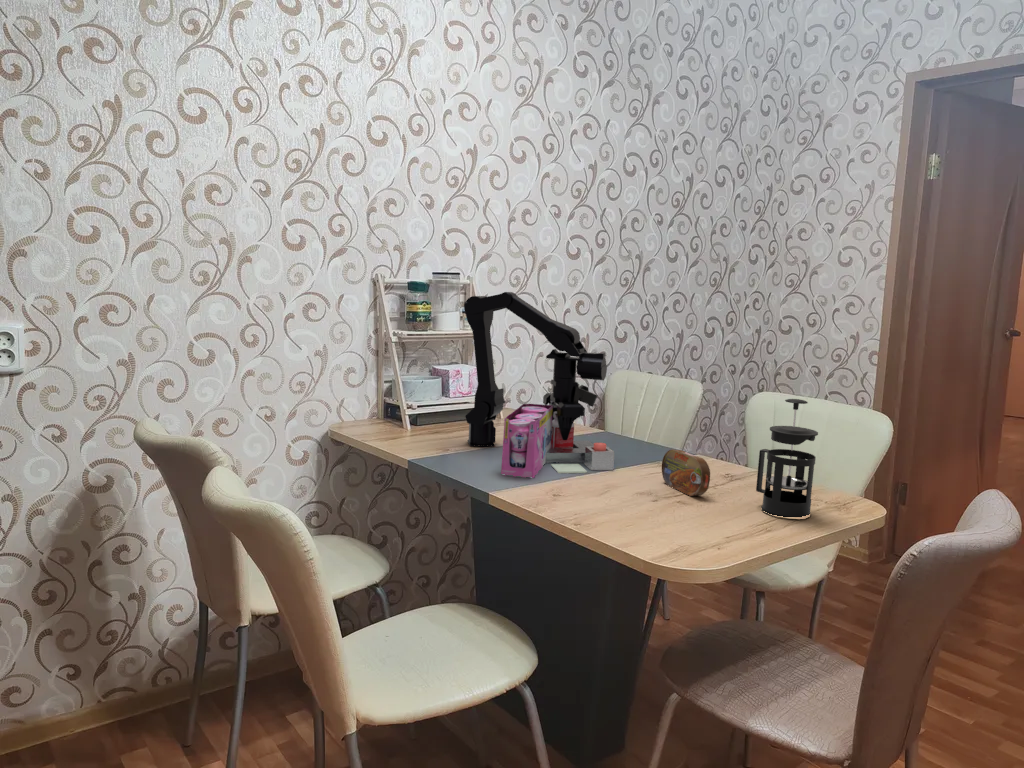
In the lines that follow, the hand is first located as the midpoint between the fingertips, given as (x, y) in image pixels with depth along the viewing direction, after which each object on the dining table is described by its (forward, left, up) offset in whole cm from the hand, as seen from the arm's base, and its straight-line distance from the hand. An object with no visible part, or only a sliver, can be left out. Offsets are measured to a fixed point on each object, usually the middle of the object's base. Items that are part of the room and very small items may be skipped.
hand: (561, 437), depth 184 cm
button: (+6, -13, -2) cm, 14 cm away
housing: (+6, -13, -4) cm, 15 cm away
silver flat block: (+1, -2, -4) cm, 5 cm away
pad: (-2, -14, -4) cm, 15 cm away
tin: (+19, -33, -5) cm, 38 cm away
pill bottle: (0, 0, -5) cm, 5 cm away
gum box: (-11, -10, -5) cm, 16 cm away
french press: (+33, -49, -5) cm, 59 cm away
